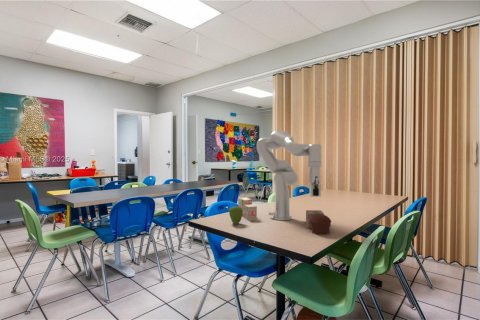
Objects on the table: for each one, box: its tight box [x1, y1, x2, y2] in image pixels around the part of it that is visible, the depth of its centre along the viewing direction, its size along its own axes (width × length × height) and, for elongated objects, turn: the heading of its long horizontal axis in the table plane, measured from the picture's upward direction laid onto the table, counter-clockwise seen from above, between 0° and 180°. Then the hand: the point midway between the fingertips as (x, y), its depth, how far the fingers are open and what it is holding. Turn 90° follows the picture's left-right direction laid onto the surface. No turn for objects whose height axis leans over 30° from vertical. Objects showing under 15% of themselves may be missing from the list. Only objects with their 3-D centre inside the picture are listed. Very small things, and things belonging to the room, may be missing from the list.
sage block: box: [309, 183, 322, 198], centre depth 162 cm, size 6×6×7 cm
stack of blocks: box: [237, 196, 258, 221], centre depth 189 cm, size 21×6×12 cm, turn 18°
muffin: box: [310, 214, 333, 236], centre depth 150 cm, size 12×11×10 cm
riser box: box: [305, 209, 325, 230], centre depth 162 cm, size 9×9×9 cm
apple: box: [228, 205, 243, 225], centre depth 171 cm, size 9×8×12 cm
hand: (314, 194), depth 162 cm, fingers closed on sage block, 5 cm apart
